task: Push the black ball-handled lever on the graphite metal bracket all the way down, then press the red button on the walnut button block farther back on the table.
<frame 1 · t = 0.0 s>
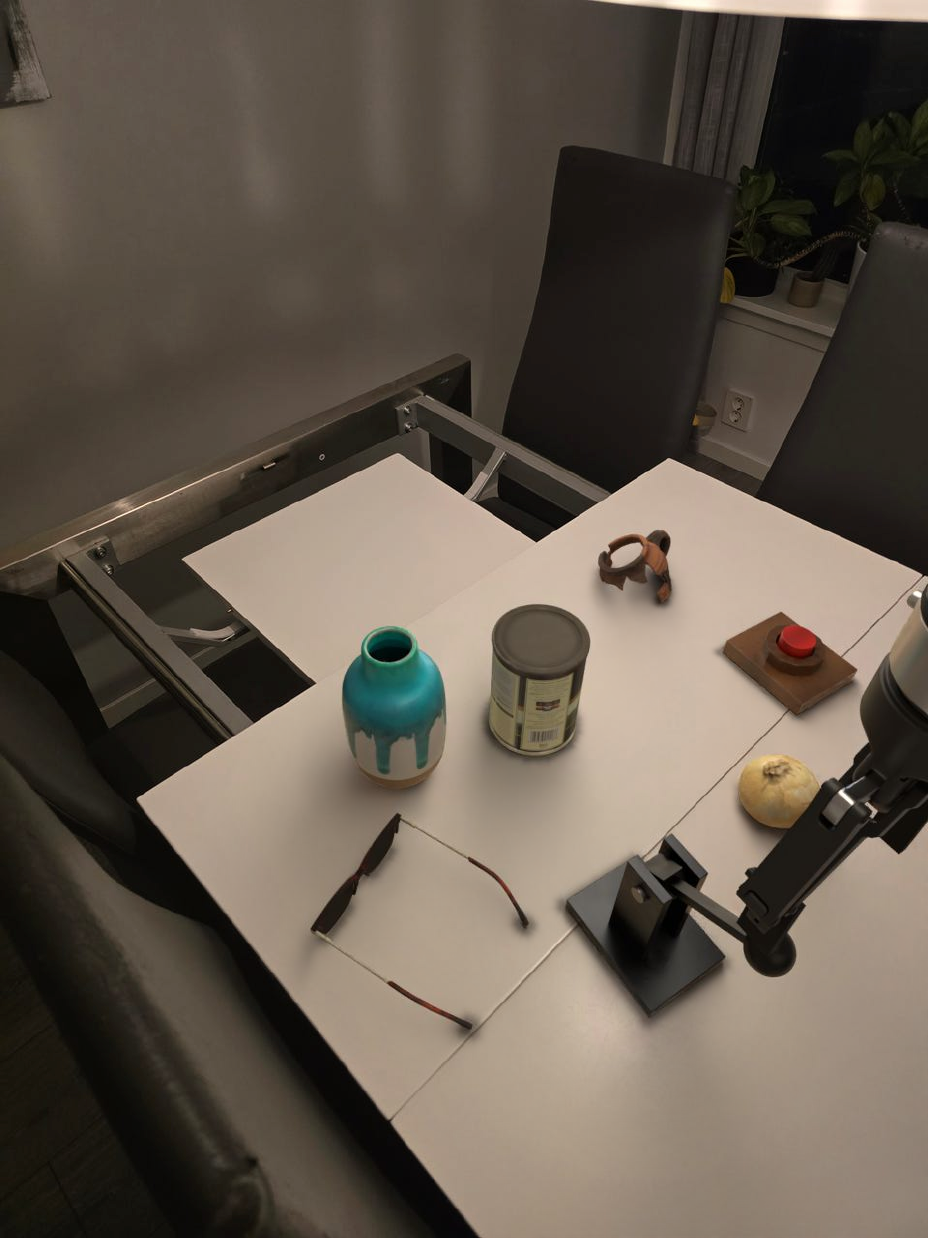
hand: (823, 885, 54), 21 cm above the table, tool pointing down, fingers open, 13 cm apart
onion: (771, 807, 84), on the table
lever: (714, 912, 61), point 14 cm above the table, hinge at 28.0°
sunglasses: (427, 931, 74), on the table
button: (796, 641, 95), point 4 cm above the table, slide at 0.1 cm
vase: (399, 764, 87), on the table
bracket: (641, 933, 74), on the table
pottery mug: (637, 582, 109), on the table
button block: (785, 666, 98), on the table
coffee can: (531, 721, 92), on the table
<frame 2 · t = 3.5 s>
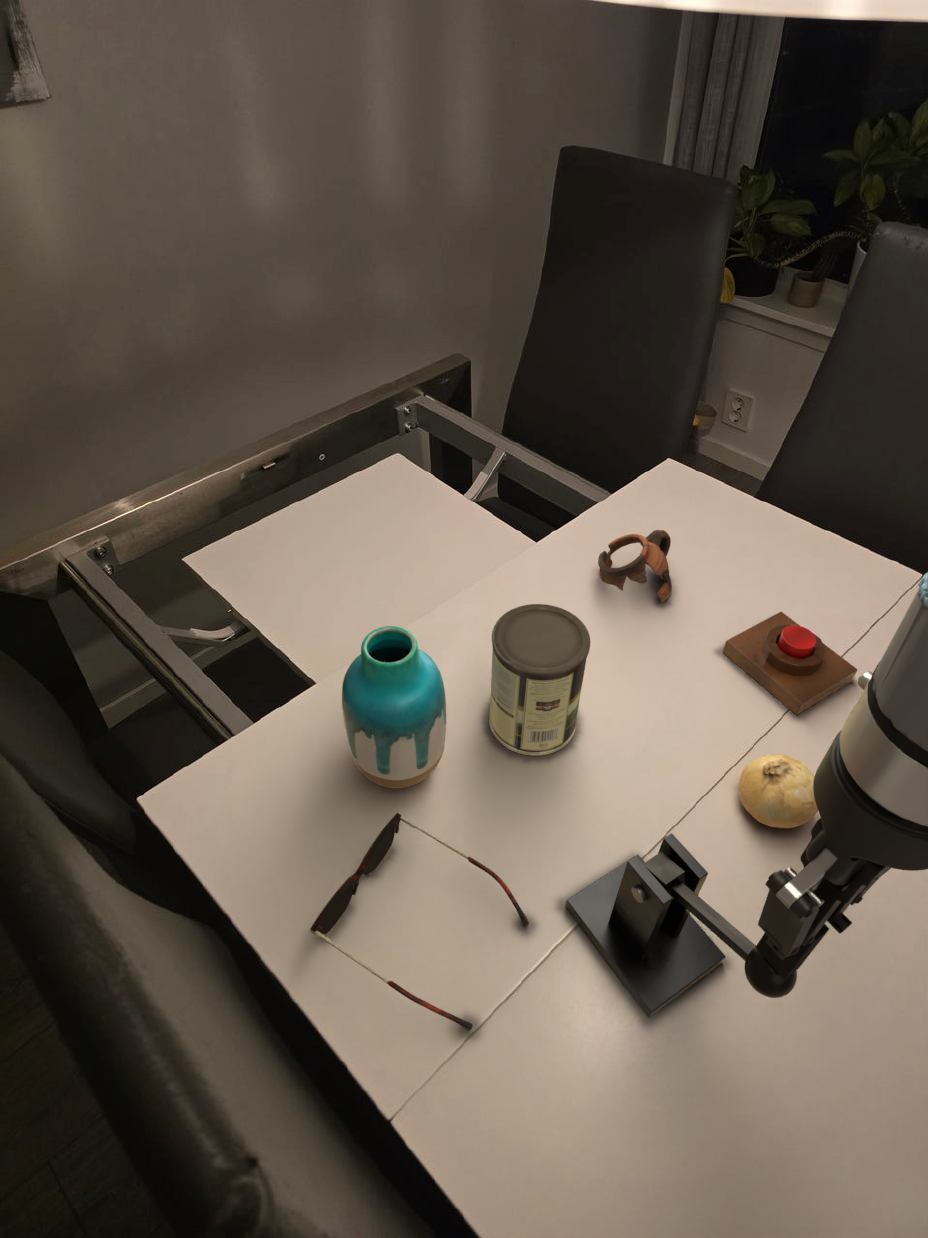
hand: (776, 957, 56), 16 cm above the table, tool pointing down, fingers closed
lever: (715, 922, 62), point 13 cm above the table, hinge at 16.8°, touching gripper
everything else where it was.
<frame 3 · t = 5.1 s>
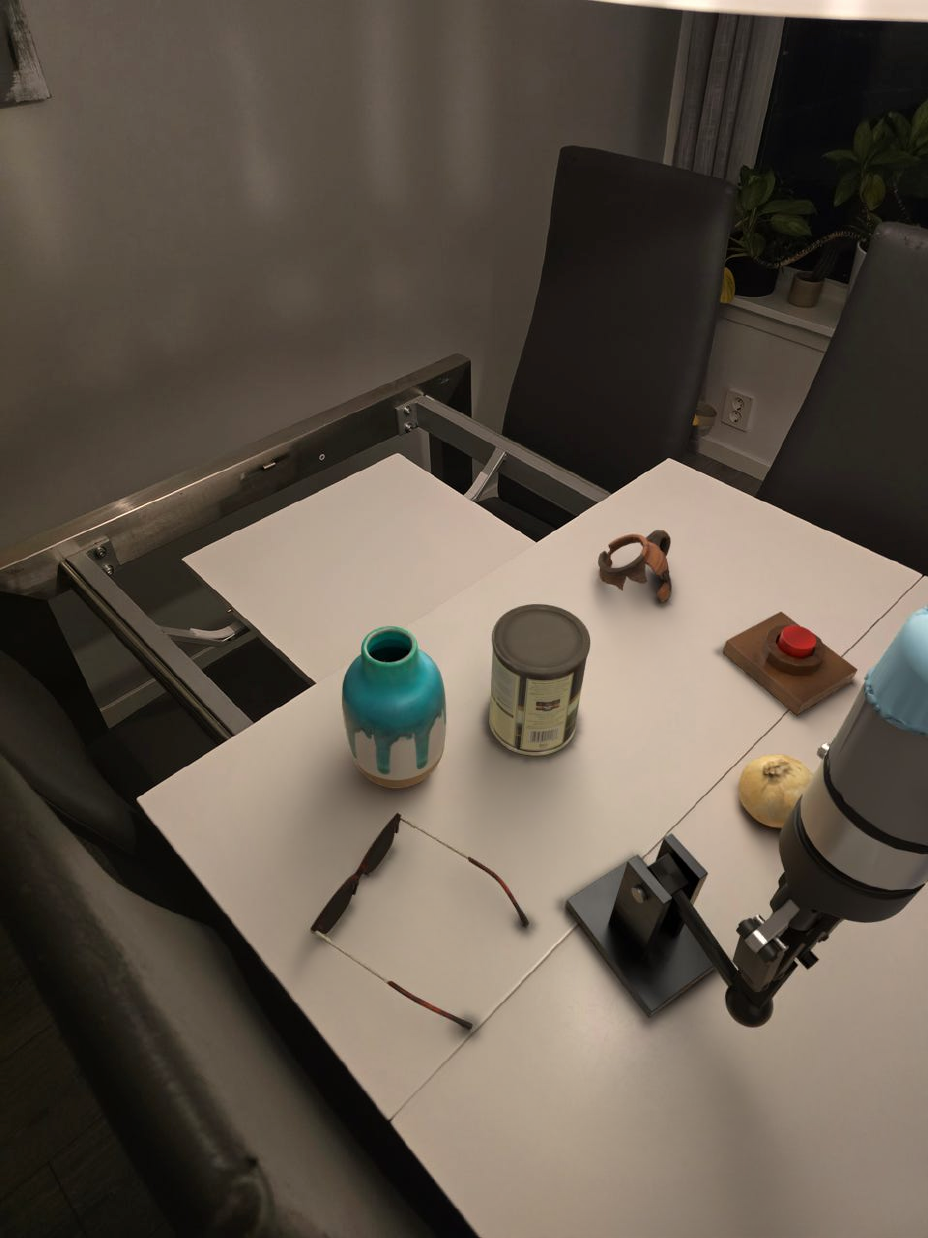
hand: (752, 988, 61), 10 cm above the table, tool pointing down, fingers closed
lever: (706, 940, 64), point 9 cm above the table, hinge at -15.8°, touching gripper
everything else where it was.
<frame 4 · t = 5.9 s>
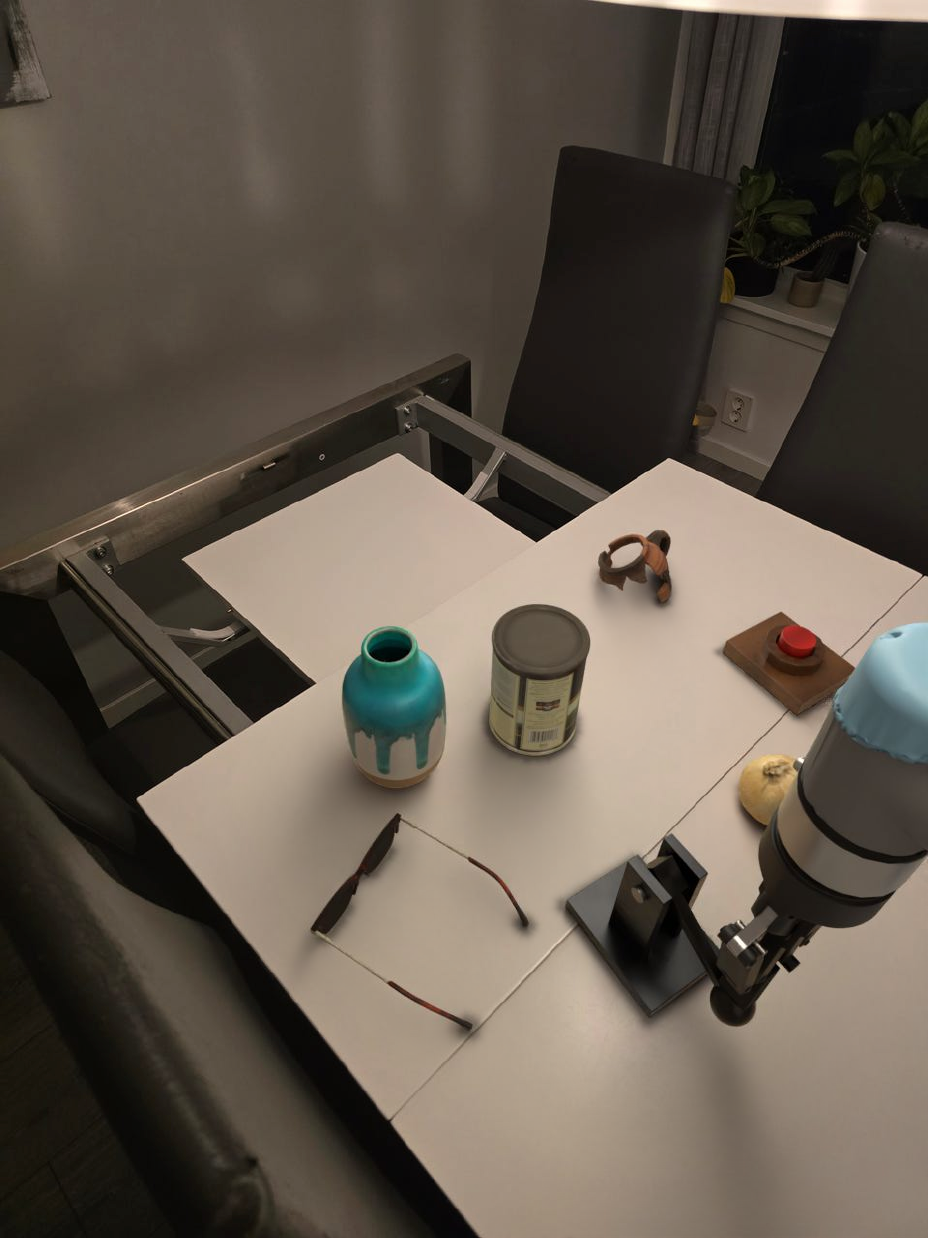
hand: (737, 991, 63), 8 cm above the table, tool pointing down, fingers closed
lever: (698, 941, 65), point 8 cm above the table, hinge at -28.8°, touching gripper
everything else where it was.
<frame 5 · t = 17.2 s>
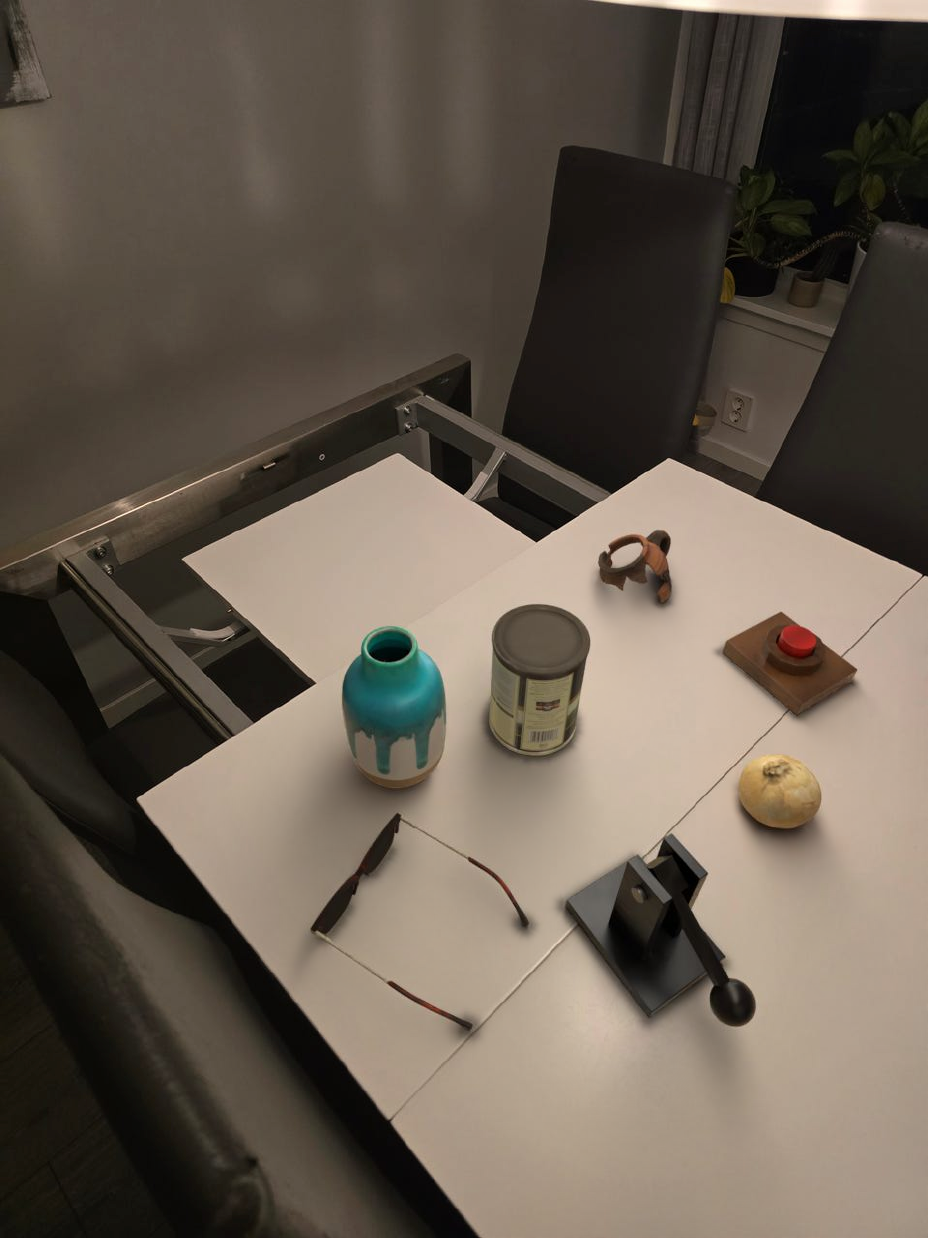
lever: (698, 941, 65), point 8 cm above the table, hinge at -29.0°
everything else where it was.
at the end: lever at -29° (first picture: +28°); button pushed in 1.0 cm at the most during the clip, back to where it started at the end; button slide at 0.1 cm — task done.
